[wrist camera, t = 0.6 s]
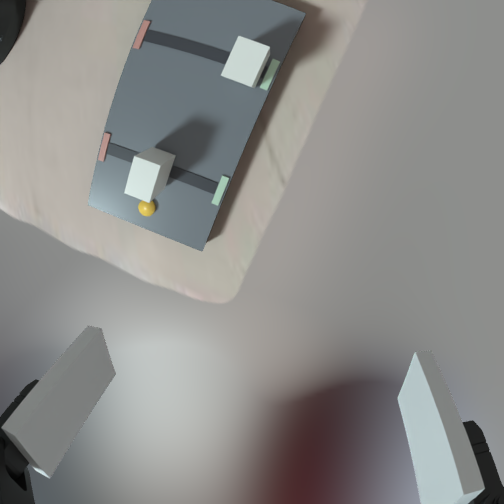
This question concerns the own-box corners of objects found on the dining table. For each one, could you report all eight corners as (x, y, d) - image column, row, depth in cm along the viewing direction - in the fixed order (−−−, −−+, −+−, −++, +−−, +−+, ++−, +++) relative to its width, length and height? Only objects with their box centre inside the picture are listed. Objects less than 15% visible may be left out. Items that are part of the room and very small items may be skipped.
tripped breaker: (152, 146, 29) (134, 155, 25) (175, 155, 29) (160, 165, 25) (142, 179, 30) (124, 193, 26) (165, 187, 30) (149, 202, 26)
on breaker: (243, 44, 24) (238, 35, 20) (270, 54, 24) (269, 46, 20) (228, 78, 25) (220, 75, 21) (254, 88, 26) (251, 86, 22)
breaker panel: (171, -21, 22) (164, -28, 20) (303, 18, 24) (306, 12, 22) (95, 199, 34) (85, 206, 32) (205, 243, 36) (201, 253, 33)
